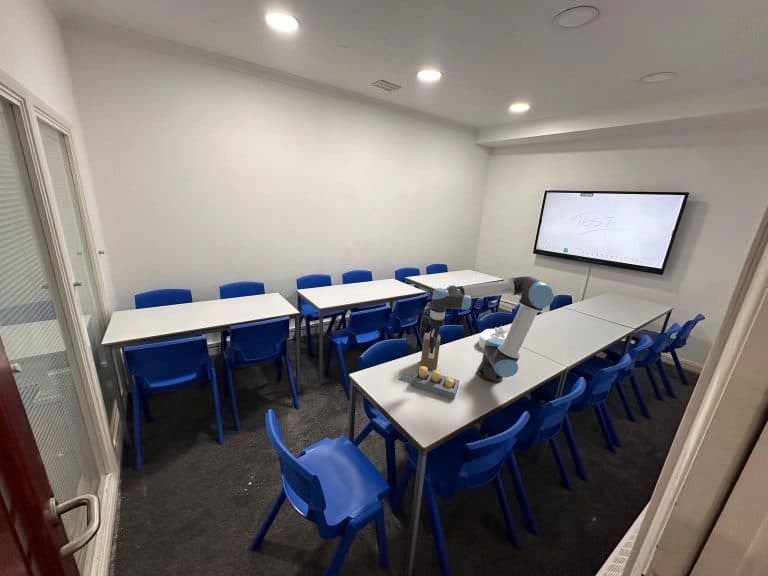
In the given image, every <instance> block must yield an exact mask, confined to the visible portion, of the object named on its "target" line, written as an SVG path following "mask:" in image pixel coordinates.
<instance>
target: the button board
mask: <svg viewBox="0 0 768 576" xmlns="http://www.w3.org/2000/svg"><path fill="white" fill-rule="evenodd" d="M432 372H433V371H429V370H428V371H427V377H426V378H420V377H419V368H418V369H417V370H416V372H415V373H414V377H413V378H412V380H411V383H410V387H413V388H414V389H418V390H422V391H424V392H429V393H431V394H436V395H438V396H441V397H444V398H448V399H451V400H455V399H456V395H457V392H458V390H459V386H460V379H457V378H453V377H450V376H446V375H442V374H441V376H440V381H439V382H433V381H432ZM448 377H449V378H452V379H454V385H453V388H450V387H446V386H445V379H446V378H448Z"/></svg>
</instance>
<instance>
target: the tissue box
mask: <svg viewBox="0 0 768 576" xmlns="http://www.w3.org/2000/svg"><path fill="white" fill-rule="evenodd" d="M507 334H508V329H505V326H502V325H500V326H499V328H498V327H494V328H486V329H484V330H483V331H482V332H481V333H480V334H479V340H478V346H479V347H480V348H481V349H482V350H484V346H485V342H486V340H487V339H490V338H494V339H500V340H503V341H504V340H505V338H506V336H507Z"/></svg>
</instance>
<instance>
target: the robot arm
mask: <svg viewBox="0 0 768 576" xmlns="http://www.w3.org/2000/svg"><path fill="white" fill-rule="evenodd" d="M504 295H510V296H520V298H519V301H518V303H519V305H520V306H519V308H518V310H517V312H516V315H515V316H514V319H513V321H512V322H511V326H510V327H509V330H508V331H507V333H508V334H507V336H506V338H505V340H504V341H503V340H500V339H494V338H490V339H487V340H486V342H485V346H484V349H483V353H482V357H481V358H482V360H481V361H480V364H479V365H478V367H477V370H476V374H477V375H478V377H479V378H480V379H482V380H485V381H487V382H491V383H499V382H502V381H503V380H504V378H510V377H513V376H515V375H516V374H517V373H518V371H519V364H518V361H519V359H520V353H519V351H520V349H521V348H522V345H523V343H524V341H525V339H526V338H527V335H528V333H529V331H530V328H531V327H532V325H533V323H534V321H535V318H536V316H537V315H538V313H541V312H543V310H544V308H547V307H549V306H550V305H551V304H552V302H553V300H554V295H555V294H554V291H553V289H552V288H551V287H550V285H548V284H547V283H546V282H543V281H541V280H540V279H538V278H536V277H534V276H529V275H528V276H517V277H516V276H515V277H509V278H508V279H507V280H499V281H492V282H485V283H477V284H469V285H468V284H467V285H460V286H456V285H453V284H451V285H448V286H447V287H446V288H442V287H436V288H434V289H433V292H432V297H431V305H430V309H429V312H430V314H429V318H428V324H429V326H431V328H430V342H429V346H428V347H429V348H430V349H429V356H428V358H432V359H433V358H434V353H435V346H436V347H437V345H436V343H437V338H438V335H439V331H440V328H441V327H443V326H444V322H445V316H446V311H447V310H446V309H455V310H462V311H463V310H469V309H470V308H471V306H472V299H478V298H479V299H480V298H487V297H495V296H496V297H497V296H504Z"/></svg>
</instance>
